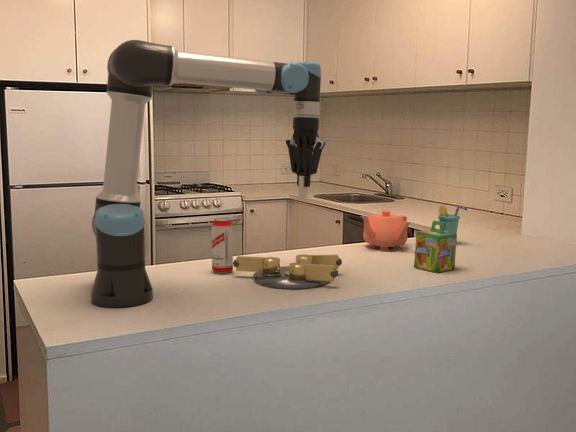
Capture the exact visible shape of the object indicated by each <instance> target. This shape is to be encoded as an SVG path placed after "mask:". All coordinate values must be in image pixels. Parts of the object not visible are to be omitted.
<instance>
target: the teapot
mask: <svg viewBox="0 0 576 432" xmlns="http://www.w3.org/2000/svg"><path fill="white" fill-rule="evenodd" d="M360 218H362V220H363V234H362V238H363V240H364V241H365V243H366V244H368V246H367V247H368V249H369V248H370V249H375V248H376V247H380V249H379V251H382V252H388V251H389V248H392V247H393V248H394V250H395V249H396V250H402V247H401V246H404V245H405V244H406V243H407V242H408V228H409V226H410V222H409V221H407V219H408V217H407V216H406V215H403V214H402V215H397V214H391V210H387V209H384V210H381V213H376V214H374V213H372V214H369V215H368V217H367V216H363V215H362V216H361V215H360Z"/></svg>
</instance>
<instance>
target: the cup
mask: <svg viewBox="0 0 576 432" xmlns="http://www.w3.org/2000/svg"><path fill="white" fill-rule="evenodd" d="M460 209H462V210H464V211H468V208H467V207H464V206H462V205H459V206H457V207H456V210H455V212H454V214H452V213H451V214H450V213H448V210H447V206H446V205H444V204H441V205H440V206H439V208H438V213H439V215H437V216H438V217H437V218H438V219H439V220H438V221H440V222H445V227H444V231H448V232H453V233H456V234H457V235H458V227H459V220H460V217H461V216H460V215H458V213H459V210H460ZM440 228H441V226H440V225H439V229H440Z"/></svg>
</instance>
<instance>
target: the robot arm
mask: <svg viewBox="0 0 576 432" xmlns="http://www.w3.org/2000/svg"><path fill="white" fill-rule="evenodd" d="M106 69H107V81H106V84H107V85H106V94H107V95H108V96H109V98H110V100H111V104H110V113H109V125H108V134H107V143H106V144H107V145H106V155H105V162H104V163H105V164H104V174H103V186H102V191H101V192H99V193H98V194H96V197H95V203H94V204H95V206H94V213H93V216H92V219H91V230H92V233H93V234H94V236H95V240H96V262H97V263H96V265H97V266H96V267H97V268H96V269H97V272H96V274H95V276H94V277H95V278H94V281H93V286H92V288H91V292H90V301H91V303H92V304H94V305H96V306H99V307H104V308H105V307H106V308H127V307H135V306H139V305H144V304H147V303H149V302H151V301H152V300H153V298H154V291H153V286H152V283H151V281H150V277H149V275H148V272H147V269H146V245H145V242H146V241H145V225H146V224H145V223H146V219H145V215H144V214H145V213H144V210H142V208H141V203H142V202H141V199H140V198H139V196H138V195H137V186H138V176H139V175H138V174H139V167H140V166H139V165H140V156H141V148H142V147H141V145H142V137H143V130H144V129H143V127H144V119H145V109H146V104H147V103H149V102H150V101H151V100H153V99H152V98H153V89H154V86H168V87H169V86H172V85H173V84H174V83H180V84H181V83H183V84H192V85H201V86H202V85H204V86H212V87H213V86H214V87H224V88H236V89H247V90H254V92H256V93H257V94H261V95H262V94H264V95H283V96H284V95H286V96H293V115H294V116H295V117H293V118H292V129H293V134H292V137H291V138H290V139H286V140H285V144H286V146H287V149H288V155H289V160H290V161H289V162H290V169H291V172H292V173H294V174H295V175H296V176H297V177H296V186H297V187H298V197H297V198H298V199H307V198H308V197H309V187H310V186H311V177H312V175H316V174H317V172H318V168H319V164H320V160H321V156H322V153H323V149H324V147H325V146H326V142H325V141H322V140H320V139H319V133H318V132H319V129H320V118H318V117H319V116H320V113H321V112H320V111H321V109H320V105H321V103H320V102H321V101H320V99H321V98H320V97H321V86H322V85H321V84H322V67H321V64H320V63H318V62H315V61H297V62H293V61H292V62H288V63H287V62H278V61H277V62H276V61H269V60H260V59H251V58H243V57H234V56H233V57H232V56H226V55H225V56H224V55H214V54H206V53H199V52H191V51H181V50H177V49H176V48H175V47H174V46H172V45H166V44H159V43H155V42H149V41H145V40H140V39H130V40H126V41H124V42H122V43H121V44H119V45H118V46H117V47H115V48H114V50H113V51H112V52H111V53H110V55H109V56H108V60H107V66H106Z"/></svg>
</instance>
